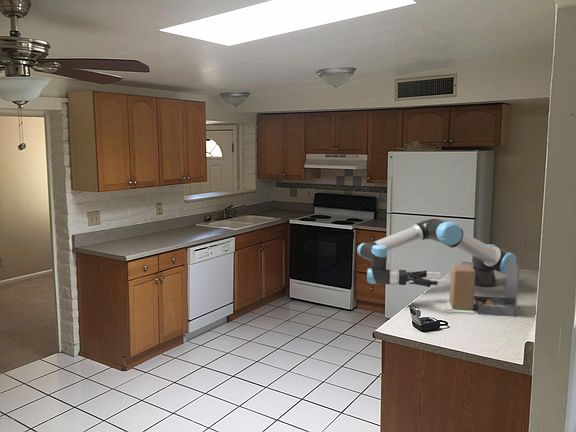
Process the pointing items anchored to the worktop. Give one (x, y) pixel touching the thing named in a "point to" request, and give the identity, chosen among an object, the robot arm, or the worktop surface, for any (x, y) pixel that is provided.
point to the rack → (508, 300)
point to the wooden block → (462, 287)
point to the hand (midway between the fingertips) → (442, 279)
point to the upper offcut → (488, 303)
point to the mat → (461, 310)
